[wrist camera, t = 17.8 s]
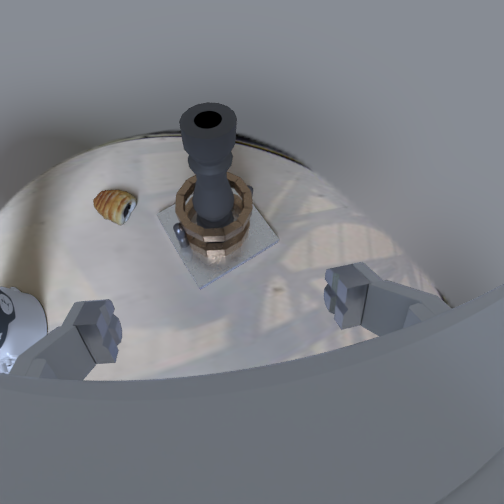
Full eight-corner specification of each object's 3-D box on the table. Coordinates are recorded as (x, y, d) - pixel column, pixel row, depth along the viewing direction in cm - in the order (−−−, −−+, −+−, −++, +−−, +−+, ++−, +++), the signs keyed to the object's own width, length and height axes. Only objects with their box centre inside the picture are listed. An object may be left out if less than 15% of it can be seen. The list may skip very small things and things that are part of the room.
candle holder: (190, 229, 47) (164, 123, 24) (214, 205, 49) (208, 94, 26) (216, 251, 46) (207, 151, 23) (240, 226, 48) (252, 117, 25)
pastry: (90, 214, 49) (82, 205, 45) (106, 188, 51) (100, 178, 48) (124, 229, 48) (117, 219, 45) (141, 200, 51) (135, 189, 47)
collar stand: (200, 289, 45) (192, 273, 36) (158, 217, 49) (144, 188, 40) (277, 242, 49) (288, 216, 40) (230, 179, 53) (231, 146, 44)
